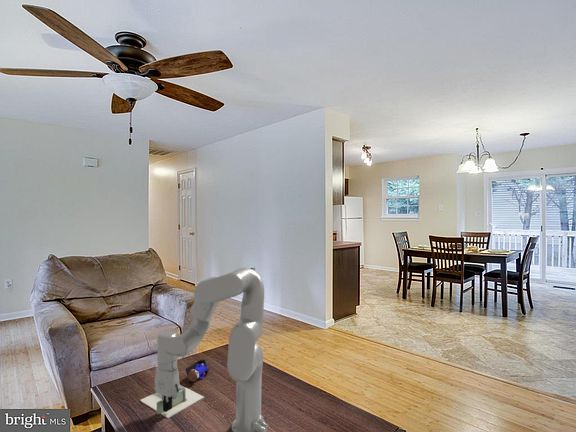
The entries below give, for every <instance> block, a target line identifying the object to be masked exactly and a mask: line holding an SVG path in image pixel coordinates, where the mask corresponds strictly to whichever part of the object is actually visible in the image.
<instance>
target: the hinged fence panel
mask: <svg viewBox="0 0 576 432" xmlns="http://www.w3.org/2000/svg"><path fill="white" fill-rule="evenodd" d="M177 395H178V398H176V399H172V407H173V406H174V405H176V404H178V403H180V402H182V401H184V400H185V399H186V389H185V388H183V389H182V390H180V391H179V392H178V393H177ZM162 412H164V411H163V400H160V401H158V402H157V411H156V414H157V415H161V414H160V413H162Z"/></svg>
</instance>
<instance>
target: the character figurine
mask: <svg viewBox="0 0 576 432" xmlns="http://www.w3.org/2000/svg"><path fill="white" fill-rule="evenodd" d="M207 362H208V360H207V359H202V360H201V359H200V360H197V361H195V362H194V363H192V364H191V365H189V366H188V367H186V368H185V372H186V376H187V380H188V384H190V383H193V382H196V381H197V380H198V379H200V380H202V379H203V378H204V376H205V375H206V374H208V373H209V371H210V370H211V369H212V366H211V362H210V361H209V362H208V363H207ZM209 365H210V366H209ZM207 366H208V367H207Z"/></svg>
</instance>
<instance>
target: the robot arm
mask: <svg viewBox="0 0 576 432" xmlns="http://www.w3.org/2000/svg"><path fill="white" fill-rule="evenodd" d="M241 294H242V300H241V305H240V316H239V320H238V321H237V323H236V324H235V325H234V326H233V327H232V329H231V330H230V333H229V336H228V347H227V348H228V350H227V366H226V367H227V371H228V374H229V376H230V377H231V379H232V380H234V381H235V385H236V387H235V419H234V420H233V421H232V422H231V432H267V431H268V427H269V423H266V420H264V415H262V383H263V382H262V378H263V376H262V375H263V366H264V365H263V363H264V351H263V348H262V347H261V345H260V344H259V343H258V342H257V341H258V340H259V339H260V338H261V336H262V334H263V329H264V327H263V325H264V324H263V323H264V311H265V310H264V306H265V285H264V282H263V280H262V278H261V276H260V275H259V274H258V273H257V272H256V271H255V270H254V269H251V268H250V267H240V268H237V269H235V270H233V271H230V272H228V273H226V274H223V275H219V276H210V277H208V278H206V279H204V280H200V282H198V283H197V285H196V286H195V288H194V290H193V296H194V299H195V301H194V302H193V303H192V306H191V308H190V314H191V315H192V316H193V319H192V321H191V323H190V325H189V327H188V329H187V330H185V331H184V332H183V333H181V334H179V335H178V334H177V333H176V332H175V331H171V330H168V331H164V332H161V333H159V334H158V335H157V338H156V339H157V341H156V343H157V344H156V347H157V349H156V351H157V353H156V354H157V361H156V362H157V363H156V365H157V366H156V368H155V375H154V391H155V393H156V392H157V393H159V394H161V395H162V400H163V411H165V412H167V411H169V410H170V409H172V399H176V398H178V395H177V393H178V392H179V384H180V373H179V368H178V357H185V356H187V355H188V354H189V353H191V351H192V350H194V349H196V347H197V346H198V345H200V344H201V342H202V341H203V339H204V338H205V337H204V336H205V335H206V334H207V331H208V329H209V327H210V323H211V318H212V317H213V314H214V313H215V311H216V309H217V306H218V305H219V303H220V302H221V301H224V300H229V299H232V298H234V297H237V296H239V295H241Z"/></svg>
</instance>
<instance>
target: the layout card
mask: <svg viewBox="0 0 576 432" xmlns="http://www.w3.org/2000/svg"><path fill="white" fill-rule="evenodd" d="M179 386H180V387H182V388H185V389H186V399H185V400H184V401H182V402H180V403H178V404H176V405H174V406H173V407H172V409H170V410H169V411H167V412H165V411H164V412H162V413H160V414H159V415H162V416H163V417H165V419H169V418H171V417H173V416H175V415H177V414H179V413H181V412H182V411H184V410H186V409H187V408H189V407H190V406H193V405H194V404H196V403H198V402H200V401H201V400H203V399H204V398H205V396H203V395H201V394H199V393H197V392H195V391H193V390H191V389H190V388H188V387H185V386H183V385H181V384H180V383H179ZM160 400H162V395H161V394H159V393H157V392H156V391H155V393H152V394H150V395H148V396H146V397H143V398H141V399H139V401H140V402H141V403H143V404H144V405H146V406H148V407H149V408H151V409H152V410H153V411H155V412H157V402H158V401H160Z"/></svg>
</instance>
